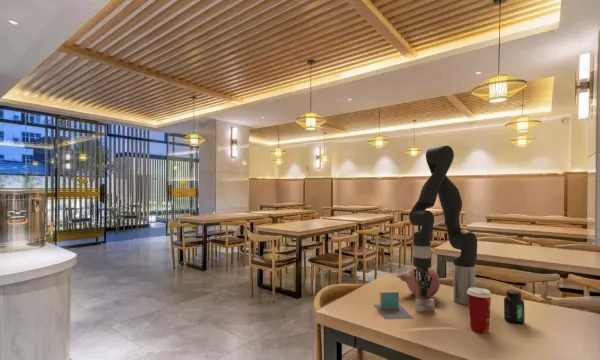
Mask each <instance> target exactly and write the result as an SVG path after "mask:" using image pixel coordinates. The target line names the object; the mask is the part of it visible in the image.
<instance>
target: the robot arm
mask: <svg viewBox="0 0 600 360" xmlns="http://www.w3.org/2000/svg"><path fill="white" fill-rule="evenodd" d="M454 158H455V153H454V150H453V148H452V147H451V146H450V145H447V144H446V145H445V144H444V145H439V146H434V147H433V146H432V147H430V148H428V149H427V150H426V153H425V160H426V163H427V167H428V169H429V172H430V173H431V175H430V176H429V177H428V178H427V180H426V181H425V182H424V184H423V185H422V188H421V191H420V193H419V197H418V200H416V202H415V204H414V205H413V207H412V209H411V210H410V211H409V215H408V219H409V222H410V224H411V225H412V226H417V227H418V226H419V227H421V228H420V230H418V231H415V232H413V236H412V237H413V238H412V241H413V242H412V243H413V244H412V245H413V247H412V260H413V261H412V265H413V267H416V269H413V271H414V277H415V279H420V282H421V287H422V297H427V288H430V285H431V281H432V276H429V272H428V268H432V249H431V236H432V232H433V228H434V224H435V215H434V213H433V212H431V210H427V209H431V208H433V207H435V204H436V201H437V198H438V200H439V203H440V206H441V210H442V213H443V216H444V220H445V224H446V225H445V226H446V230H447V231H446V232H447V237H448V242H449V244H450V246H451V247H452V248H453V249H455V250H458V251H460V255H459V256H455V257H454V258H453V261H452V262H453V264H452V265H453V266H452V267H453V268H452V269H453V271H452V272H453V277H452V278H453V279H452V280H453V301H454V302H455V303H458V304H461V305H467V306H469V302H468V293H467V291H468V289H469V288H472V287H476V288H478V282H477V281H476V262H477V258H478V237H477V236H476V234H475V233H473V232H471V231H466V230H462V227H461V223H460V215H461V211H462V207H463V200H462V196H461V193H460V191H459V188H458V187H457V186H456V184H454V182H453V181H451V179H449V177H448V176H447V173H448V171H449V169H450V168H451V166H452V164H453V162H454V161H453V160H454ZM422 280H424V281H422ZM423 283H424V285H423Z"/></svg>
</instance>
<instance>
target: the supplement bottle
mask: <svg viewBox="0 0 600 360" xmlns="http://www.w3.org/2000/svg"><path fill="white" fill-rule="evenodd" d="M525 316H526V315H525V301H524V300H523V298H522V292H521V291H520V290H519V291H518V290H514V289H507V290H506V295H505V297H504V298H503V319H504V321H505V322H507V323H509V324H510V325H511V324H512V325H517V326H521V325H522V326H523V325H524V324H525V322H526V321H525Z"/></svg>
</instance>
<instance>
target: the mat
mask: <svg viewBox="0 0 600 360" xmlns="http://www.w3.org/2000/svg"><path fill="white" fill-rule="evenodd" d="M373 306H374V308H375V309H376V310H377V311H378V313H379V314H380V315H381V316H382V317H383V319H384V320H408V319H409V320H410V319H415V317H413V316H412V315H411V314H410V313H409V312H408V311H407V310H406V309H405V308H404V307H403V306H402V305H401V304H400V303H399V308H395V309H381V308H380V304H373Z"/></svg>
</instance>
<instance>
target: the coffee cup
mask: <svg viewBox="0 0 600 360" xmlns="http://www.w3.org/2000/svg"><path fill="white" fill-rule="evenodd" d="M467 293H468V302H469V305H468V314H469V324H470V325H469V326H470V330H471V332H474V333H476V334H479V335H487V334H489V333H490V320H491V319H490V318H491V317H490V316H491V301H492V300H491V299H492V298H491V297H492V296H493V295H492V294H491V291H490V290H489V289H486V288H482V287H477V288H476V287H472V288H469V289H468V291H467Z"/></svg>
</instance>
